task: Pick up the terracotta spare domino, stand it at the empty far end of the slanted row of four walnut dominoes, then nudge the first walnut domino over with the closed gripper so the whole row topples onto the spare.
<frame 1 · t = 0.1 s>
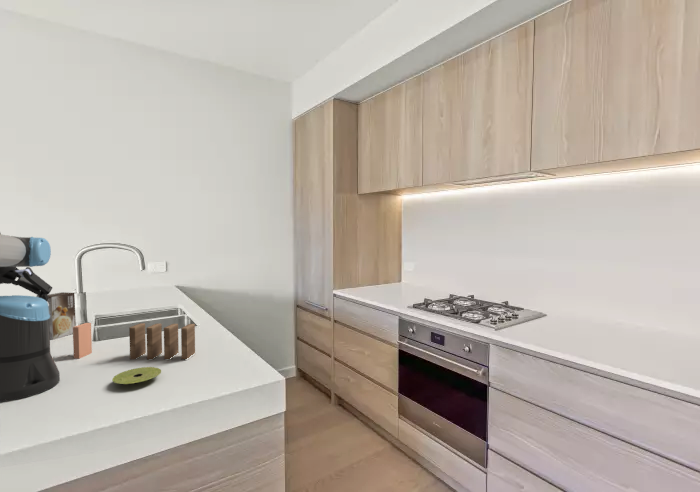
hand: (20, 309, 114), 15 cm above the table, tool tilted 35°, fingers open, 13 cm apart
domino 2: (171, 356, 115), on the table
domino 1: (188, 357, 114), on the table
coffee box: (58, 336, 138), on the table
mat: (137, 382, 96), on the table
spare domino: (83, 355, 116), on the table
domino 3: (154, 356, 115), on the table
domino 4: (138, 356, 115), on the table
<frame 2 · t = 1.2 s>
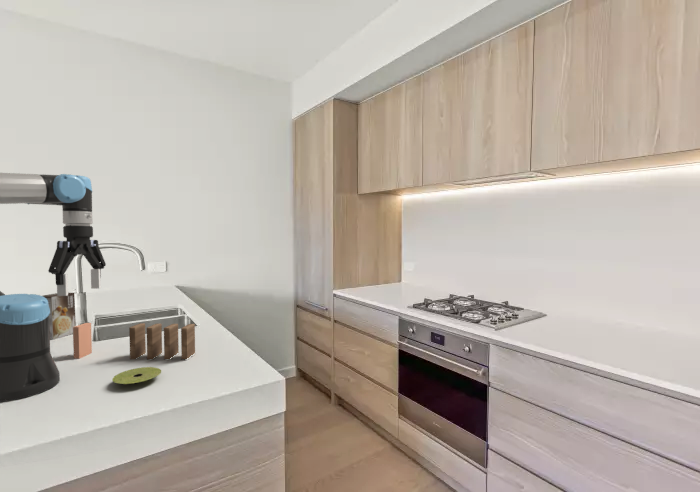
hand: (80, 291, 115), 21 cm above the table, tool pointing down, fingers open, 13 cm apart
nothing on the table moved.
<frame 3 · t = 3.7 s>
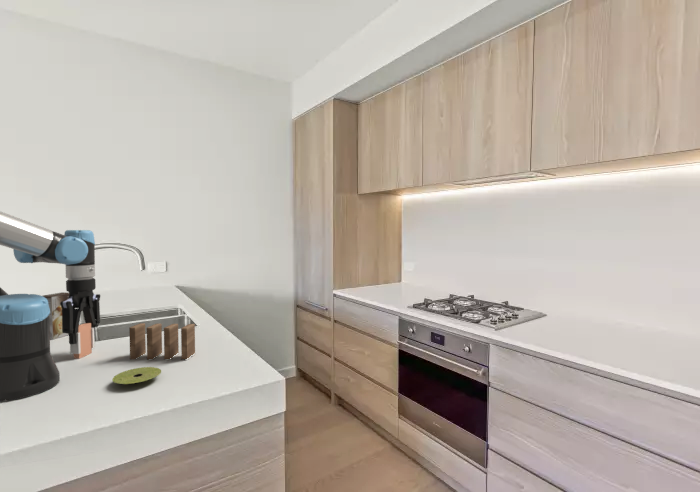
hand: (82, 350, 116), 2 cm above the table, tool pointing down, fingers closed on spare domino, 5 cm apart
spare domino: (83, 355, 116), on the table, touching gripper
everything else where it was.
when the fingers open (3 cm above the table, at t = 9.0 s): spare domino stays where it is, on the table.
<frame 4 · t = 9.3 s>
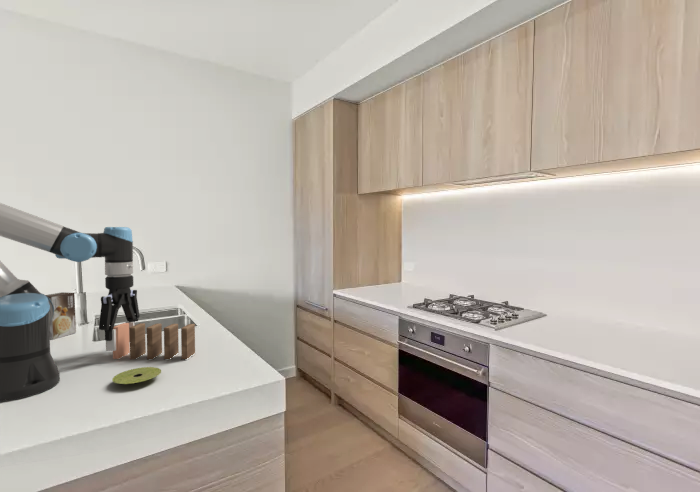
hand: (121, 345, 115), 3 cm above the table, tool pointing down, fingers open, 8 cm apart
spare domino: (121, 356, 115), on the table
everything else where it was.
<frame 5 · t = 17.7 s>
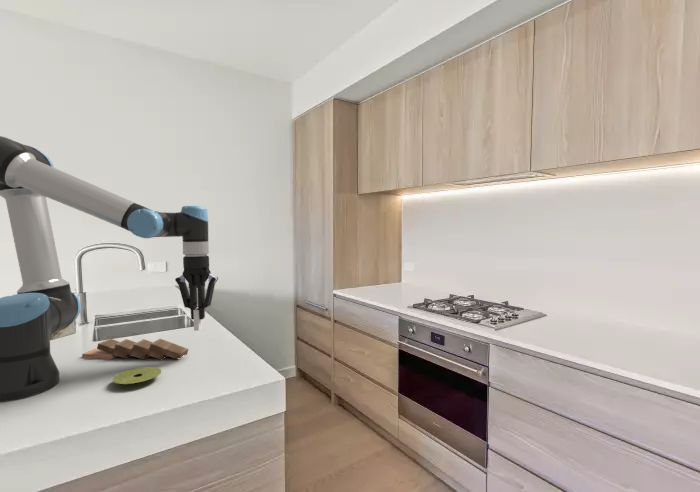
hand: (198, 329, 114), 9 cm above the table, tool pointing down, fingers closed
domino 2: (167, 354, 115), point 1 cm above the table, tilted 72°, touching domino 1, domino 3
domino 1: (183, 354, 115), point 1 cm above the table, tilted 70°, touching domino 2
spare domino: (118, 354, 116), on the table, tilted 90°, touching domino 4
domino 3: (149, 354, 115), point 1 cm above the table, tilted 72°, touching domino 2, domino 4
domino 4: (131, 353, 115), point 1 cm above the table, tilted 73°, touching domino 3, spare domino
everything else where it was.
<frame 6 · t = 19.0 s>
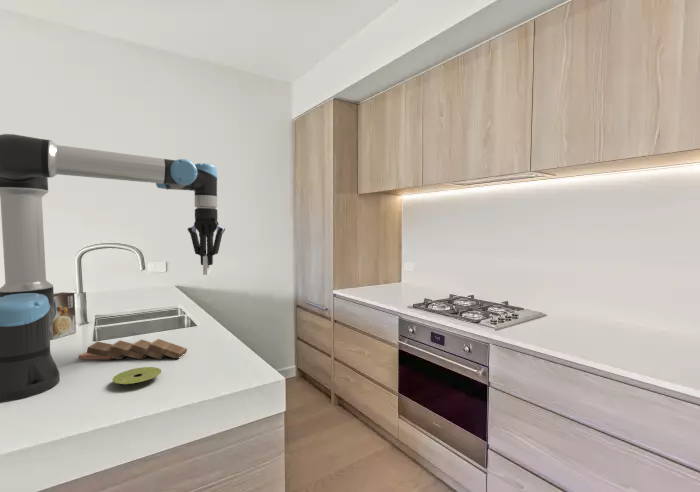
hand: (206, 274, 129), 25 cm above the table, tool pointing down, fingers closed
domino 1: (182, 353, 115), point 1 cm above the table, tilted 71°, touching domino 2
domino 4: (125, 353, 115), point 1 cm above the table, tilted 76°, touching domino 3, spare domino
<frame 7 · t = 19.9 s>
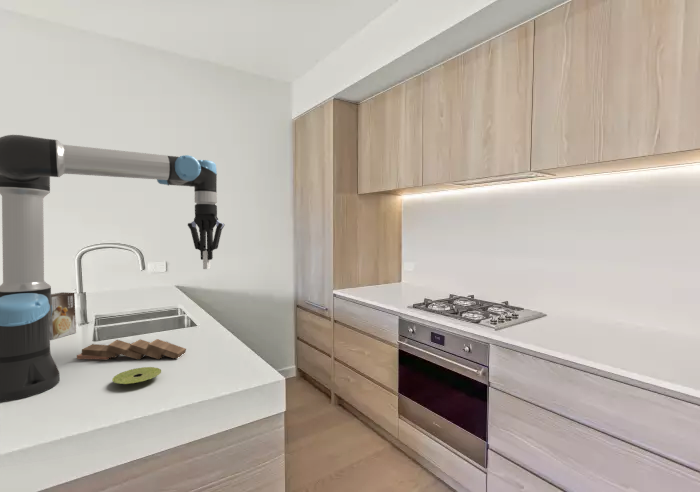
hand: (206, 268, 131), 26 cm above the table, tool pointing down, fingers closed
domino 2: (164, 354, 115), point 1 cm above the table, tilted 72°, touching domino 1
domino 1: (181, 354, 115), point 1 cm above the table, tilted 71°, touching domino 2
domino 3: (144, 354, 115), point 1 cm above the table, tilted 70°
domino 4: (120, 351, 114), point 2 cm above the table, tilted 84°, touching spare domino
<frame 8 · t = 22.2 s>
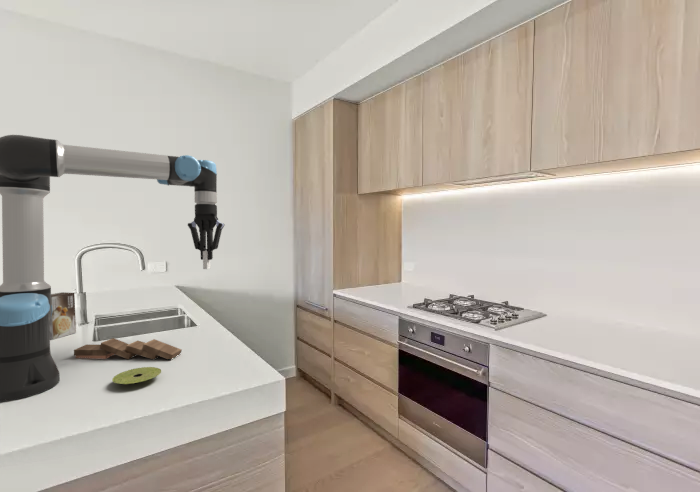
hand: (206, 268, 131), 26 cm above the table, tool pointing down, fingers closed
domino 2: (160, 354, 115), point 1 cm above the table, tilted 75°, touching domino 1, domino 3
domino 1: (176, 354, 114), point 1 cm above the table, tilted 72°, touching domino 2
spare domino: (111, 355, 115), on the table, tilted 90°, touching domino 4
domino 3: (134, 354, 115), point 1 cm above the table, tilted 70°, touching domino 2
domino 4: (111, 349, 116), point 2 cm above the table, tilted 90°, touching spare domino
everything else where it was.
at the end: spare domino tilted 90°; spare domino inside the target area (1.7 cm from its centre), on the table; domino 1 tilted 72° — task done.
